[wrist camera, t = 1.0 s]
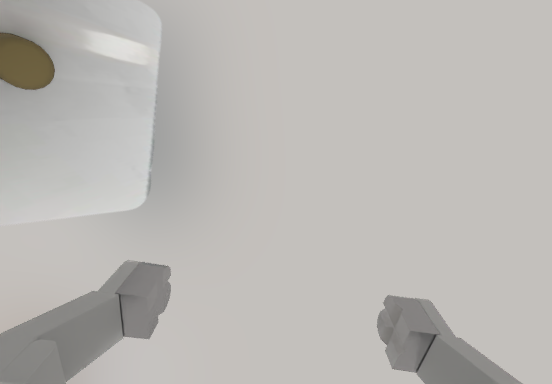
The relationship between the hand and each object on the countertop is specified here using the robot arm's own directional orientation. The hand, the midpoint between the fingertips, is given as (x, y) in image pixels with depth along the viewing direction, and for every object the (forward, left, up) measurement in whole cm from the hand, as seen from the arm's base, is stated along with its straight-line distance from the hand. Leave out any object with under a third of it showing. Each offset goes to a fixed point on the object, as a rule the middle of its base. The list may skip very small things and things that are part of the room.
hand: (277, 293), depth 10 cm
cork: (-4, +4, -47) cm, 47 cm away
